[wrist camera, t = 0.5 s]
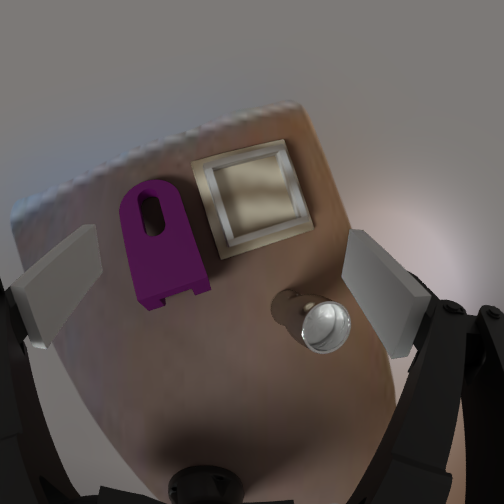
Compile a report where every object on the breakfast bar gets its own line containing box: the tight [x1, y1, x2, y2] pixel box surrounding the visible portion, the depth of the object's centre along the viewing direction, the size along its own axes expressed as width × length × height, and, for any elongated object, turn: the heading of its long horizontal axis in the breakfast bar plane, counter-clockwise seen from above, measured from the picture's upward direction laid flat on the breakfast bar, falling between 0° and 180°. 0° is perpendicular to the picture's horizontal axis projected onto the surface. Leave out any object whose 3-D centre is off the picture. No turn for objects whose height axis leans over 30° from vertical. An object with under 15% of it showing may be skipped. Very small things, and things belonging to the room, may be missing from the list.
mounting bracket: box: [119, 180, 211, 311], centre depth 43 cm, size 10×8×18 cm
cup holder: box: [191, 139, 314, 260], centre depth 46 cm, size 16×16×4 cm
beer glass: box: [271, 290, 351, 354], centre depth 41 cm, size 7×7×15 cm
